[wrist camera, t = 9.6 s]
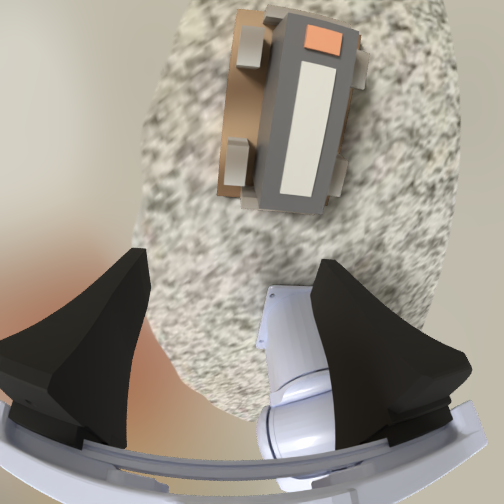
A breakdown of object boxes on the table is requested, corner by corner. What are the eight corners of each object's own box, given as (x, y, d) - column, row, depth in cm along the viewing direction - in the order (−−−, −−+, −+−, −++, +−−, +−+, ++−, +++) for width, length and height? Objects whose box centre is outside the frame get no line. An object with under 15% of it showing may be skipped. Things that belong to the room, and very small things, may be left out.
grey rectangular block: (301, 181, 18) (323, 216, 14) (252, 176, 18) (259, 210, 14) (326, 42, 13) (361, 31, 8) (272, 31, 12) (289, 11, 8)
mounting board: (323, 200, 20) (338, 222, 17) (217, 190, 19) (215, 211, 16) (355, 36, 13) (379, 30, 10) (237, 12, 12) (238, -3, 9)
